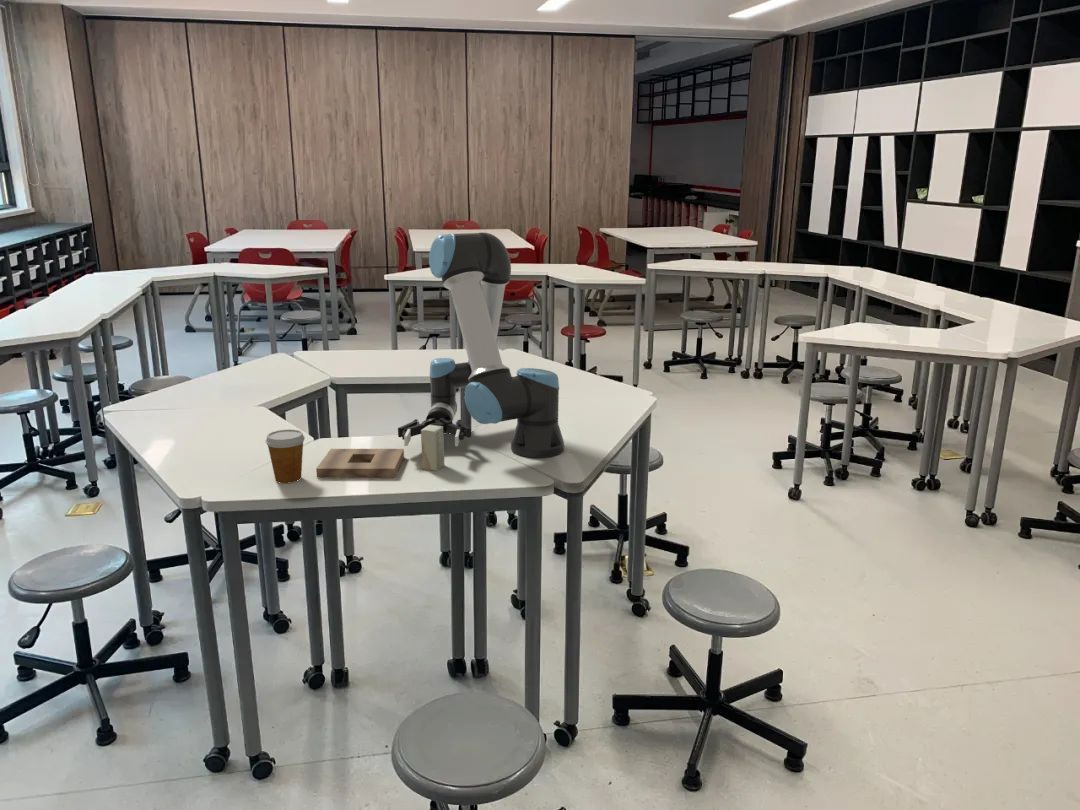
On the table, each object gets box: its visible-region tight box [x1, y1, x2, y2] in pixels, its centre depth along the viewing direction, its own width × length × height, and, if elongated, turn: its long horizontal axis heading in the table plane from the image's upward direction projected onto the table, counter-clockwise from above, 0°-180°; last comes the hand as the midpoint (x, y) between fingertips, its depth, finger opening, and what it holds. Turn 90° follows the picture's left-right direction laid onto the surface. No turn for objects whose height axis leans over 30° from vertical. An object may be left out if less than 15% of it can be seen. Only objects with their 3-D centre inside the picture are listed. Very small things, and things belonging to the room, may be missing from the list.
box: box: [420, 425, 445, 472], centre depth 215 cm, size 5×4×11 cm
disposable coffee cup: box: [264, 428, 306, 484], centre depth 206 cm, size 10×10×12 cm
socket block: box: [316, 448, 405, 479], centre depth 216 cm, size 20×16×2 cm
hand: (431, 441), depth 218 cm, fingers open, 13 cm apart
